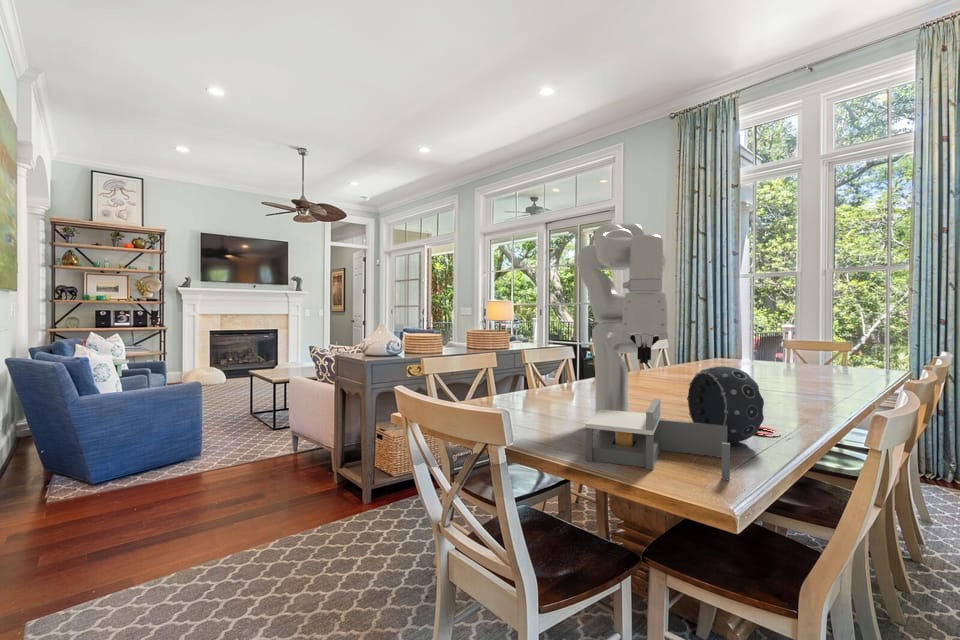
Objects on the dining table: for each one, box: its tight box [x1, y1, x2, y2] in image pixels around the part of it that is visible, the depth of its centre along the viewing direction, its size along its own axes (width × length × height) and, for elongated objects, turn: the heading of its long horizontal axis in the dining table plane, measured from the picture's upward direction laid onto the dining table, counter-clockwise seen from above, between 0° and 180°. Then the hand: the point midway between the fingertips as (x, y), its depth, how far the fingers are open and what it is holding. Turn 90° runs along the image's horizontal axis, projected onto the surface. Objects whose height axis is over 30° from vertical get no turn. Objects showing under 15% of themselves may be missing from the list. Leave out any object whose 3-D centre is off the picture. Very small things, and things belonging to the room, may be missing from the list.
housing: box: [584, 418, 731, 481], centre depth 112 cm, size 17×30×8 cm, turn 64°
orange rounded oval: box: [615, 431, 633, 447], centre depth 115 cm, size 4×4×7 cm
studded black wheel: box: [686, 365, 765, 444], centre depth 126 cm, size 11×20×20 cm, turn 6°
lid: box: [584, 398, 661, 435], centre depth 115 cm, size 17×15×5 cm
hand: (644, 362), depth 114 cm, fingers closed
